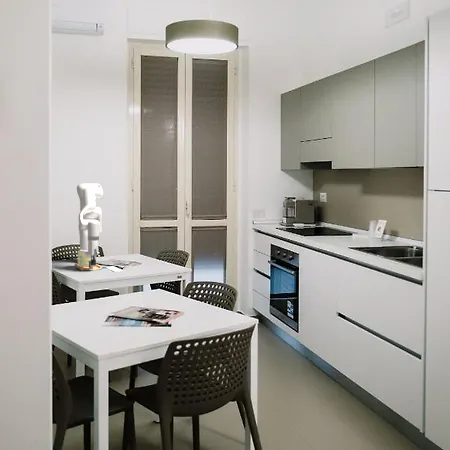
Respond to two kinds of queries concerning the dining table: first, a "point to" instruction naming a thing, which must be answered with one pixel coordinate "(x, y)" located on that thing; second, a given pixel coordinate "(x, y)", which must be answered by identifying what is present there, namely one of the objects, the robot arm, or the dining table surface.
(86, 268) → the lane frame
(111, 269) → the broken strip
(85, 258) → the box
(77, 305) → the dining table surface
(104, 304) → the dining table surface
